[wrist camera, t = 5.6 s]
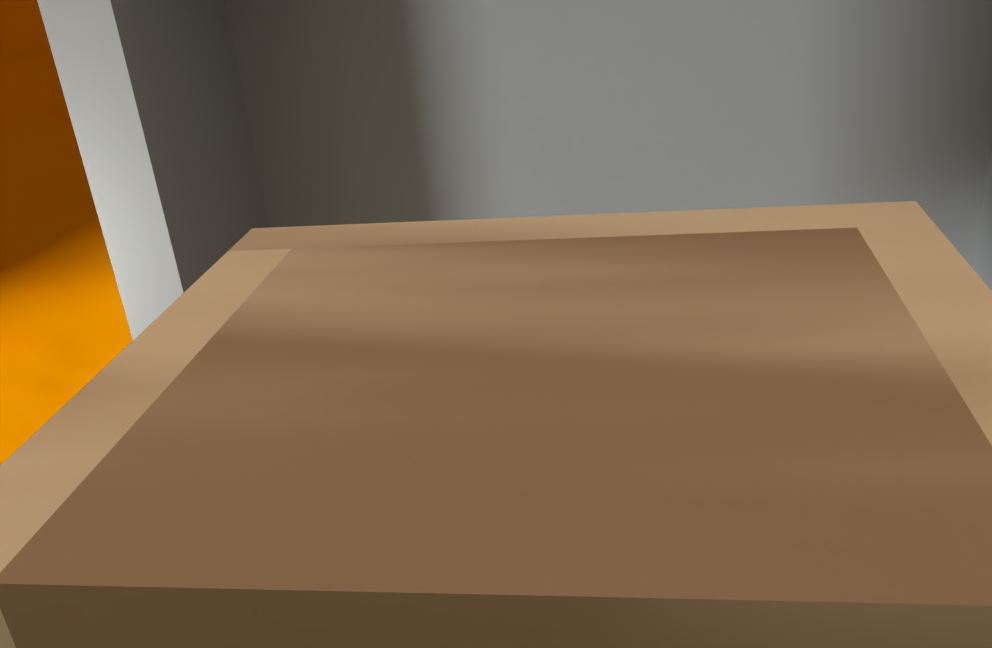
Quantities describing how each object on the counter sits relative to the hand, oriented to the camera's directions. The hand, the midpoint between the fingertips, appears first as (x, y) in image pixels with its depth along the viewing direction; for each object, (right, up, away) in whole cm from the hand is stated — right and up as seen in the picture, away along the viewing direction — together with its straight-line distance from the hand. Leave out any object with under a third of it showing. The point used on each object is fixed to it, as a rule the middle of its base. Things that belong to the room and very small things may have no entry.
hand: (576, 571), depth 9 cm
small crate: (0, +1, +1) cm, 1 cm away
